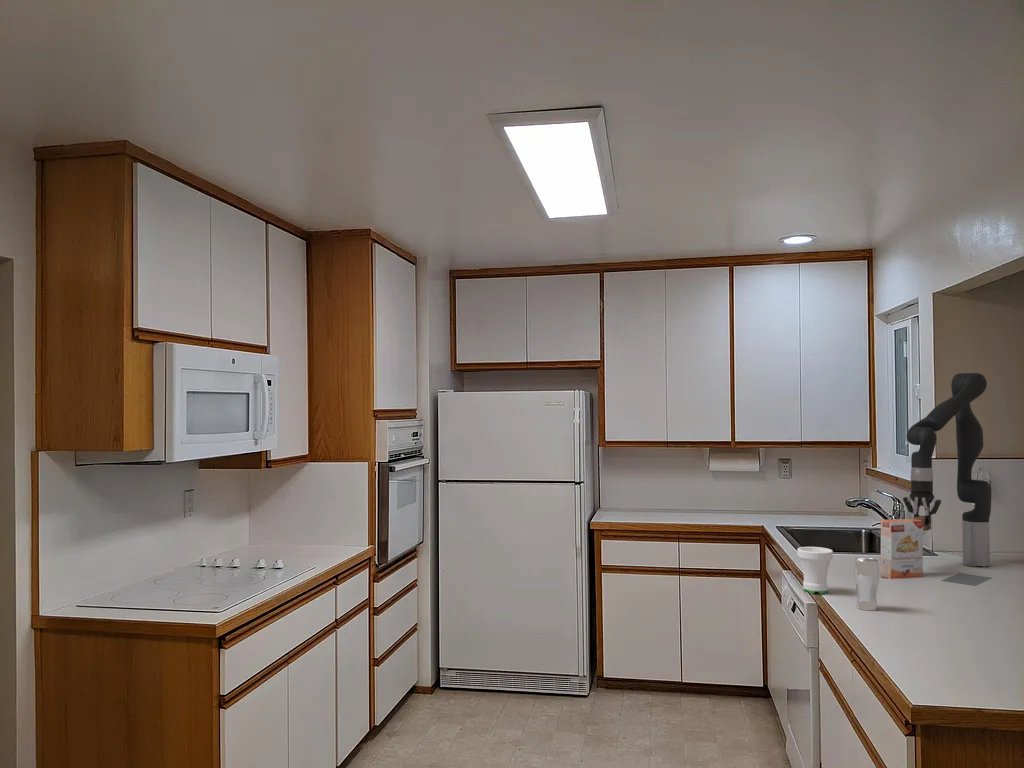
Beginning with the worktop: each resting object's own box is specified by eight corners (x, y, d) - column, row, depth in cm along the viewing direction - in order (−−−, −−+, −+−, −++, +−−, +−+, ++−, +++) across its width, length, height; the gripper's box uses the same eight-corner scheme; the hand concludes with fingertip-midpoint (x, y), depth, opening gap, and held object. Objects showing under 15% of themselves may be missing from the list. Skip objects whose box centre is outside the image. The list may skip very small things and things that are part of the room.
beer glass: (858, 604, 254) (858, 556, 255) (882, 608, 250) (881, 559, 250) (851, 608, 249) (851, 559, 249) (875, 612, 245) (875, 562, 245)
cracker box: (891, 580, 289) (891, 521, 290) (879, 576, 295) (879, 519, 295) (924, 578, 293) (923, 520, 293) (911, 574, 299) (911, 518, 299)
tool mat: (959, 574, 299) (959, 573, 299) (992, 579, 291) (992, 577, 291) (940, 582, 286) (940, 580, 286) (975, 587, 278) (975, 585, 278)
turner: (917, 527, 314) (917, 514, 314) (936, 529, 309) (936, 516, 309) (900, 532, 302) (900, 519, 302) (920, 534, 297) (919, 521, 297)
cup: (836, 596, 264) (835, 553, 265) (800, 595, 267) (800, 551, 267) (829, 589, 275) (829, 547, 276) (795, 587, 278) (795, 546, 278)
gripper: (945, 479, 306) (945, 525, 306) (906, 477, 316) (906, 521, 316) (937, 481, 301) (938, 527, 300) (898, 478, 311) (899, 523, 311)
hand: (922, 524), depth 308 cm, fingers closed on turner, 3 cm apart
